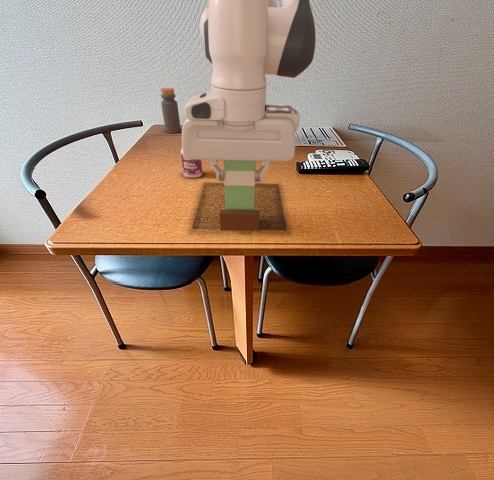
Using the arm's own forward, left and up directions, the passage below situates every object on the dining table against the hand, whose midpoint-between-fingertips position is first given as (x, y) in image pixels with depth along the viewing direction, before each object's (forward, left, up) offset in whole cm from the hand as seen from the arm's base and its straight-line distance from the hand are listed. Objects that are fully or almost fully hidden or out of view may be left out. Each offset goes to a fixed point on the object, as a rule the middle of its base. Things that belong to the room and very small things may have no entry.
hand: (239, 180), depth 56 cm
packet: (0, 0, -10) cm, 10 cm away
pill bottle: (-25, -14, -11) cm, 31 cm away
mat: (-8, 0, -11) cm, 13 cm away
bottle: (-65, -28, -11) cm, 72 cm away
